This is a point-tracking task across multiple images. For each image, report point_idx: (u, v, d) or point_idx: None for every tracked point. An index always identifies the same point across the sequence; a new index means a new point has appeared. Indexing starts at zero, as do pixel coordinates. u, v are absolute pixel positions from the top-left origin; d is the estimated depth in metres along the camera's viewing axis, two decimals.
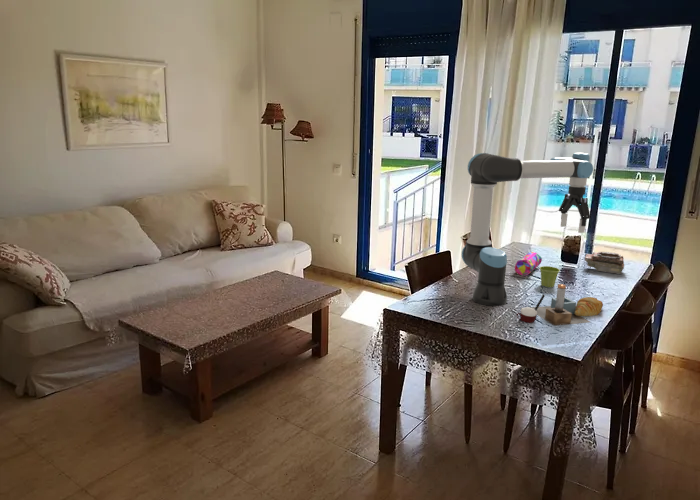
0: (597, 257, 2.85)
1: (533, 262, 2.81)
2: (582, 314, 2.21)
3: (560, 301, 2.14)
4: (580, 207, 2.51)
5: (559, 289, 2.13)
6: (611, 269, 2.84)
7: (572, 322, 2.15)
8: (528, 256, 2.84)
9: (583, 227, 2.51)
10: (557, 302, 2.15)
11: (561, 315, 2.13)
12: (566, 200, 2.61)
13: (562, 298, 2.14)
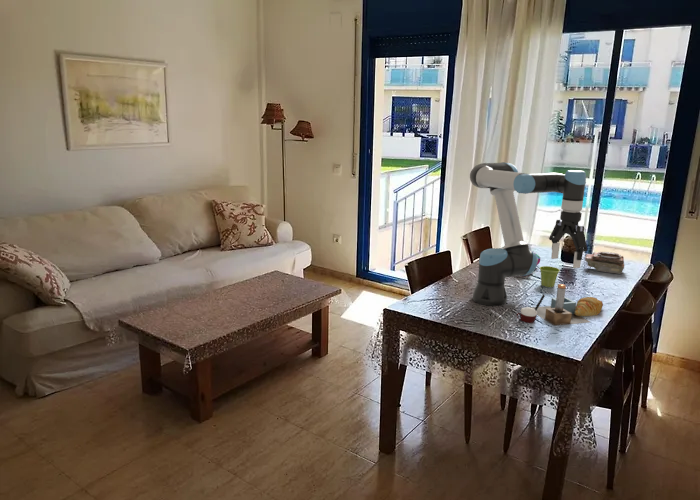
0: (597, 257, 2.85)
1: None
2: (582, 314, 2.21)
3: (560, 301, 2.14)
4: (575, 237, 2.05)
5: (559, 289, 2.13)
6: (612, 269, 2.83)
7: (572, 322, 2.15)
8: None
9: (579, 261, 2.05)
10: (557, 302, 2.15)
11: (561, 315, 2.13)
12: (558, 227, 2.15)
13: (562, 298, 2.14)
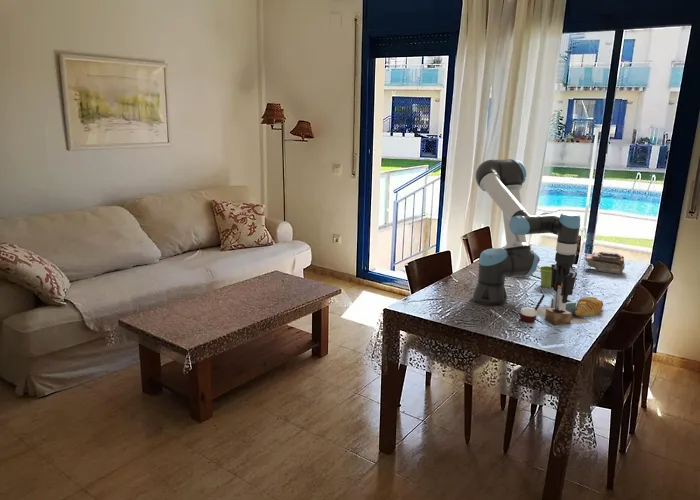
0: (597, 257, 2.85)
1: None
2: (582, 314, 2.21)
3: None
4: (565, 280, 2.11)
5: (559, 289, 2.13)
6: (612, 269, 2.83)
7: (572, 322, 2.15)
8: None
9: (564, 304, 2.14)
10: (557, 302, 2.15)
11: (561, 315, 2.13)
12: (555, 271, 2.17)
13: None
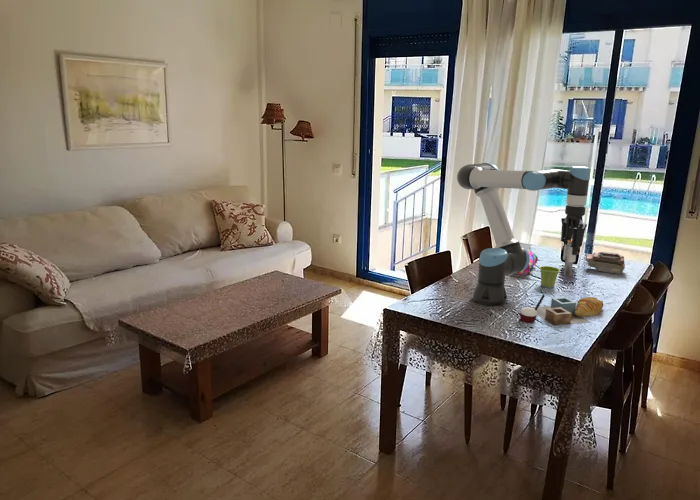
0: (598, 257, 2.85)
1: (531, 262, 2.82)
2: (582, 314, 2.21)
3: None
4: (575, 232, 2.16)
5: (569, 244, 2.18)
6: (612, 269, 2.83)
7: (572, 322, 2.15)
8: None
9: (574, 256, 2.19)
10: (567, 257, 2.20)
11: (561, 315, 2.13)
12: (565, 225, 2.22)
13: None
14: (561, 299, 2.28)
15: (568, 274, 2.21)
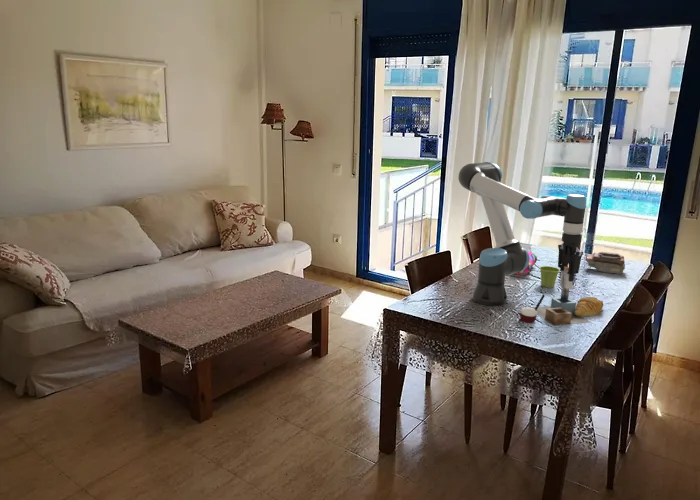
0: (598, 257, 2.85)
1: (530, 261, 2.82)
2: (582, 314, 2.21)
3: None
4: (572, 259, 2.19)
5: (565, 270, 2.22)
6: (612, 269, 2.83)
7: (572, 322, 2.15)
8: None
9: (571, 282, 2.22)
10: (564, 283, 2.23)
11: (561, 315, 2.13)
12: (562, 251, 2.25)
13: None
14: None
15: (565, 300, 2.24)
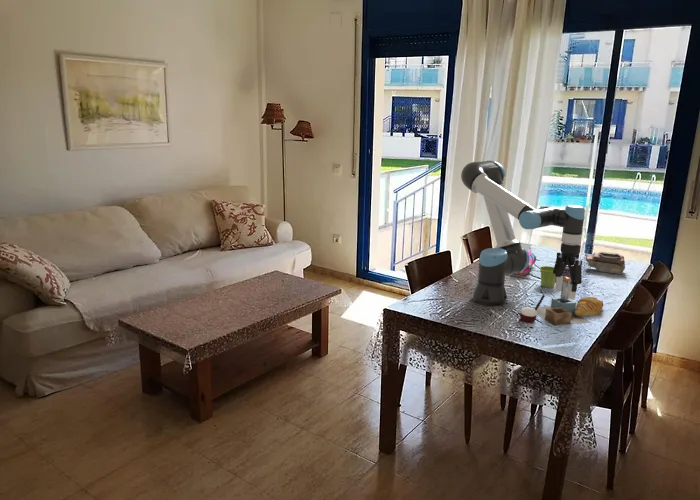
0: (598, 257, 2.84)
1: (530, 261, 2.82)
2: (582, 314, 2.21)
3: (565, 292, 2.24)
4: (572, 269, 2.18)
5: (564, 281, 2.23)
6: (613, 269, 2.83)
7: (572, 322, 2.15)
8: None
9: (574, 292, 2.20)
10: (562, 294, 2.25)
11: (561, 315, 2.13)
12: (559, 259, 2.27)
13: (567, 290, 2.23)
14: None
15: None
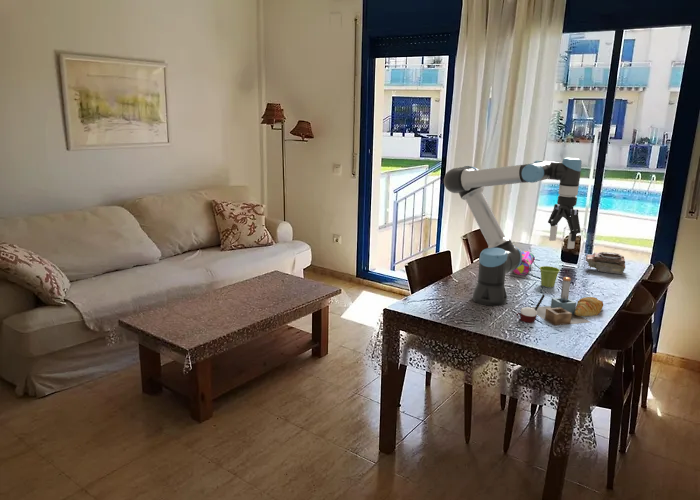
0: (598, 257, 2.84)
1: (529, 261, 2.83)
2: (582, 314, 2.21)
3: (565, 293, 2.24)
4: (570, 220, 2.21)
5: (564, 282, 2.23)
6: (613, 269, 2.83)
7: (572, 322, 2.15)
8: (524, 255, 2.85)
9: (573, 242, 2.21)
10: (562, 294, 2.24)
11: (561, 315, 2.13)
12: (556, 211, 2.31)
13: (567, 290, 2.23)
14: None
15: None
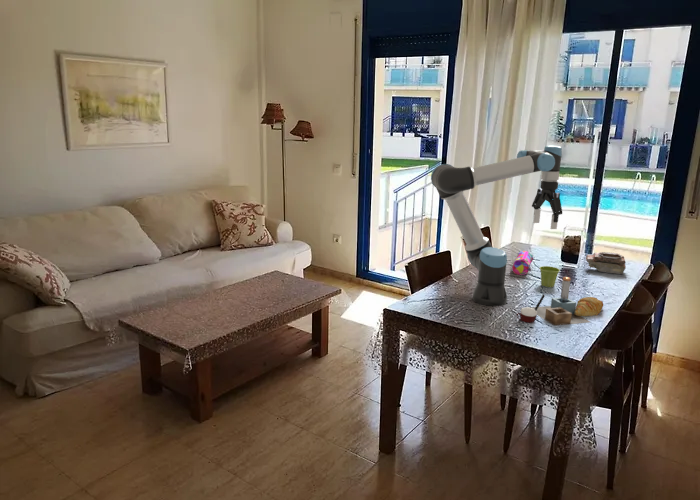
0: (599, 258, 2.84)
1: (529, 261, 2.83)
2: (582, 314, 2.21)
3: (565, 293, 2.24)
4: (552, 202, 2.41)
5: (564, 282, 2.23)
6: (613, 270, 2.83)
7: (572, 322, 2.15)
8: (523, 255, 2.85)
9: (555, 223, 2.41)
10: (562, 294, 2.24)
11: (561, 315, 2.13)
12: (539, 195, 2.50)
13: (567, 290, 2.23)
14: None
15: None
